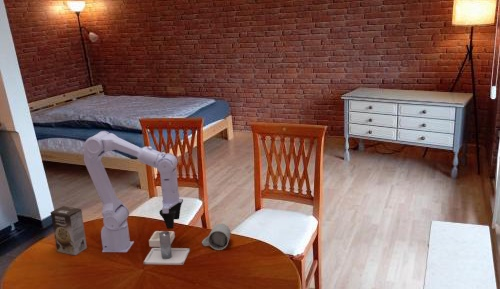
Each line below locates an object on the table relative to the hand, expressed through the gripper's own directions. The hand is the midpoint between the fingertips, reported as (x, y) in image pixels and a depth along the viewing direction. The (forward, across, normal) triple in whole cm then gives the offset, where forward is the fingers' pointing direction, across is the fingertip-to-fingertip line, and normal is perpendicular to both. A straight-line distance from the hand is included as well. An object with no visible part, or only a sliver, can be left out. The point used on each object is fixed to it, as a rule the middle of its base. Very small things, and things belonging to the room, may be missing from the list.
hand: (173, 223), depth 161 cm
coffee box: (+10, -2, +39) cm, 41 cm away
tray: (+10, -7, +1) cm, 12 cm away
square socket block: (+10, +4, +6) cm, 13 cm away
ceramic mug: (+11, +4, -15) cm, 18 cm away
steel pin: (+10, -7, +1) cm, 12 cm away
